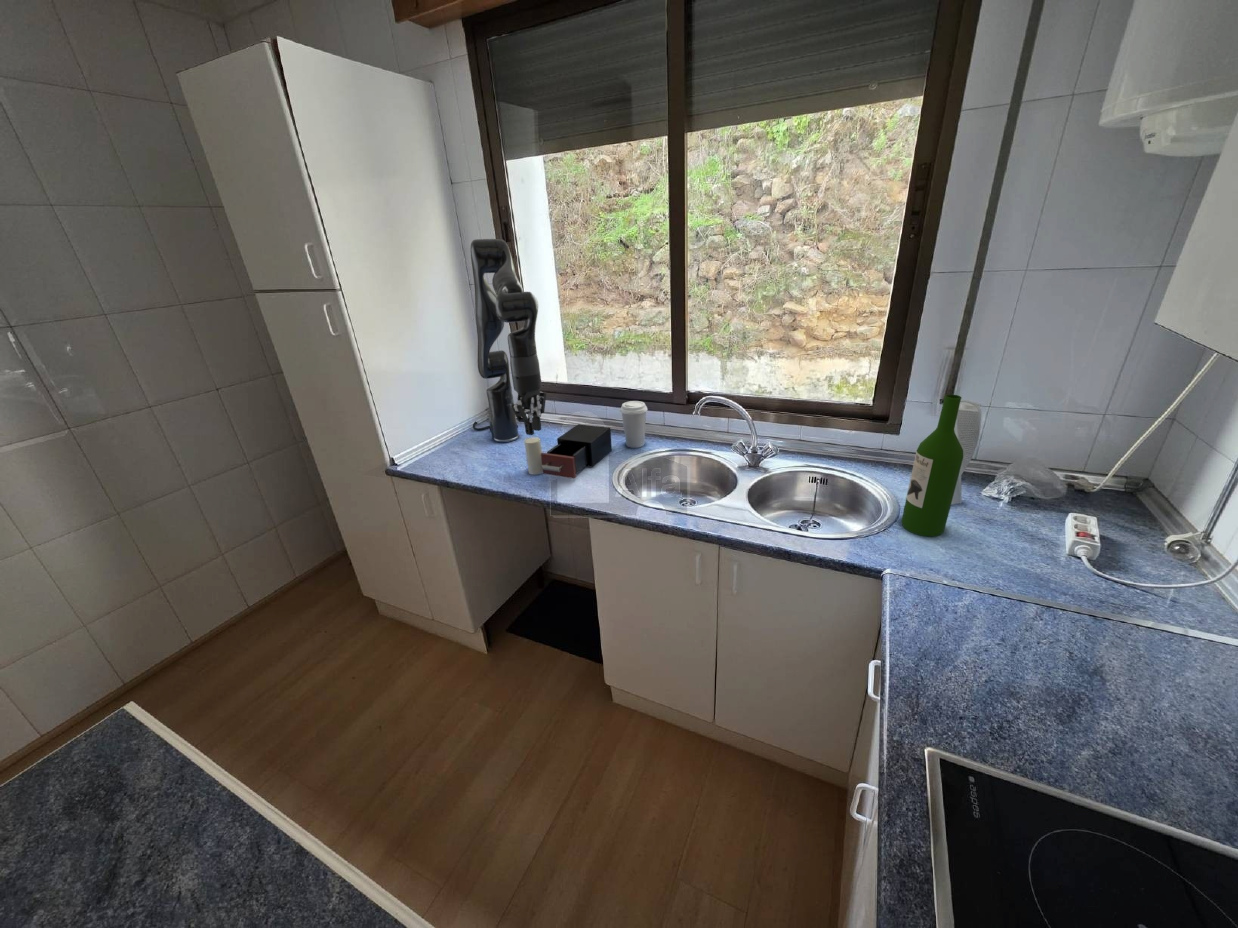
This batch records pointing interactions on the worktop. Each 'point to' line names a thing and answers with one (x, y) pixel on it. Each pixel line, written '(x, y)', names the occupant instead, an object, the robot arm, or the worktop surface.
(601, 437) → the black sliding tray box
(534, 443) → the container
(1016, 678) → the worktop surface
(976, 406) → the light grey vase
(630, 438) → the coffee cup
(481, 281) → the robot arm
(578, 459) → the drawer
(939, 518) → the wine bottle
